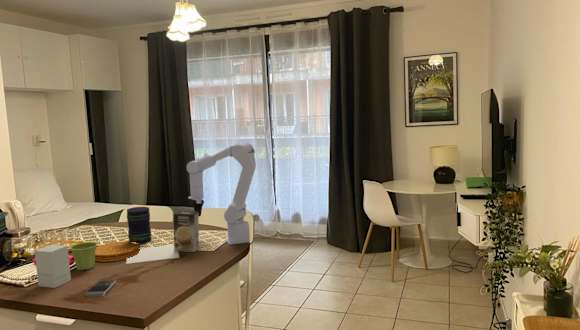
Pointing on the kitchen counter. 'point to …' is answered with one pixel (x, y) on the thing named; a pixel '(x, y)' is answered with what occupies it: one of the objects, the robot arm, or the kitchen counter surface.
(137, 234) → the storage jar
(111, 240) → the kitchen counter surface
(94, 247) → the plant pot
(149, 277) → the kitchen counter surface
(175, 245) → the coffee box
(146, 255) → the mat
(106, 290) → the cell phone
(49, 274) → the supplement box
